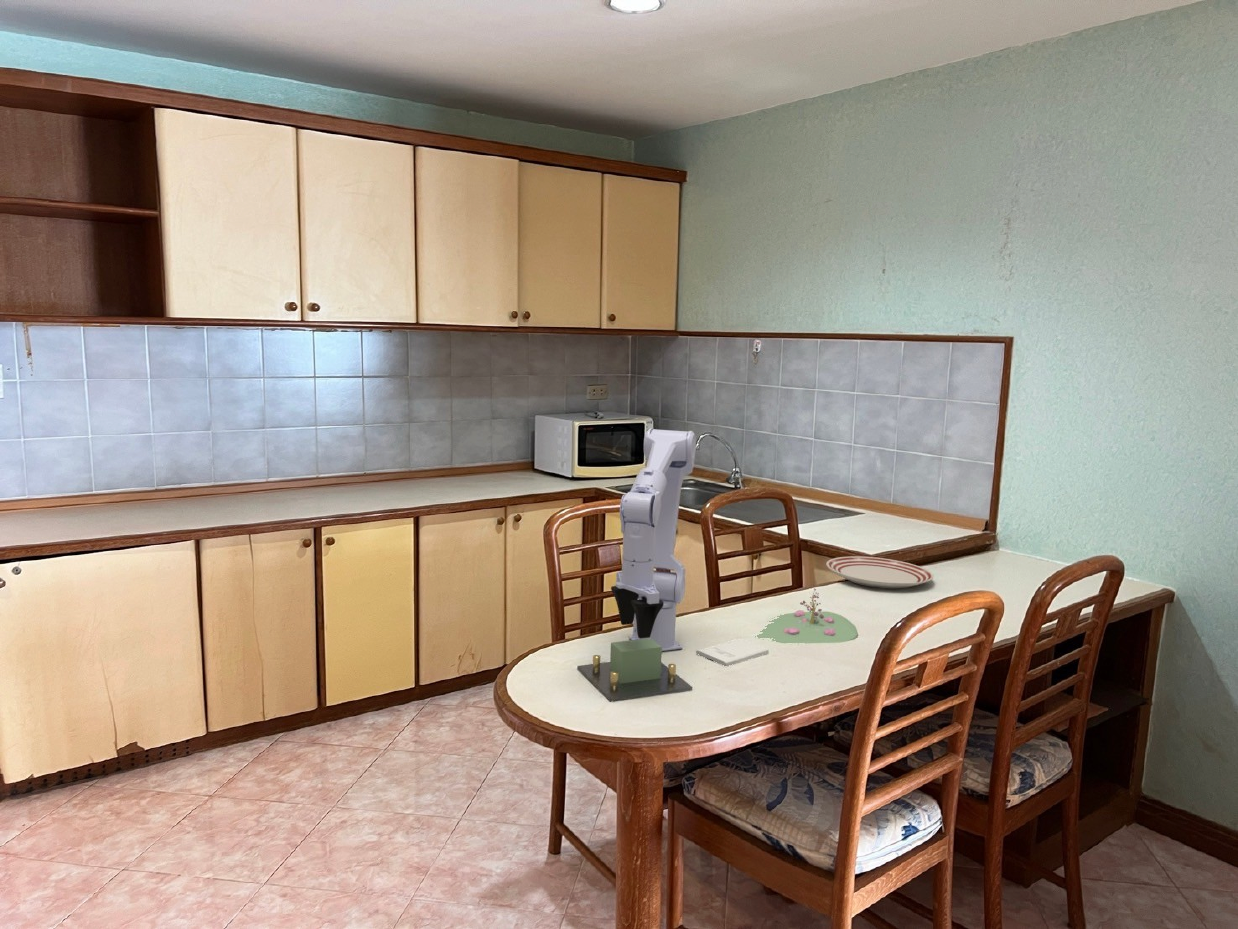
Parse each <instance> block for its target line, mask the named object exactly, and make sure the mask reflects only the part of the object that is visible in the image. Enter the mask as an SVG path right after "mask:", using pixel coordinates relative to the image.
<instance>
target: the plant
mask: <svg viewBox="0 0 1238 929" xmlns="http://www.w3.org/2000/svg"><path fill="white" fill-rule="evenodd" d="M816 590H817V589H816V588H813V593H812V596H810V597H809V598H810V599H811V601H812V602H811V601H809V604H807V602H806V601H805V600H802V601H801V602H800V603H799V604H800V605H801V606H804V607H806V610H807V611H804V610H800V609H798V610H796V611H795V612H791V613H784V615H782V614H779V615H780V616H778V615H776V616H777V617H779V618H777V619H774V620H772V621H769V620H768V621H769V622H774V623H771V624H768V625H767V626H765V627H767V628H766V629H763V630H762V631H760V632H763V633H762V634H759V635H757V637H758V638H757V639H760V638H770V639H771V638H773V639H772V641H771V642H774V641H776V643H780V644H786V643H798V644H797V645H799V643H805V644H831V643H832V644H835V643H836V644H837V643H838V644H839V643H841V644H842V643H845V642H850V641H853V640H855V639H856V638H857V637H858V636H859V633H858V630H857V627H856V625H854V623H852V622H851V621H850V620H848V618H846V617H844V616H843V615H842V614H838V613H835V612H833V611H832V612H831V611H823V609H821V608H818V610H816V609H817V606H819V605H821V602H819V603H818V602H817V600H816V599H820V597H819V594H820V593H819V592H817V591H816ZM815 591H816V592H815ZM814 593H815V594H814ZM815 598H816V599H815ZM754 638H756V636H755V637H754ZM774 639H775V640H774Z"/></svg>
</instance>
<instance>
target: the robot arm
mask: <svg viewBox="0 0 1238 929" xmlns="http://www.w3.org/2000/svg"><path fill="white" fill-rule="evenodd" d="M696 449H697V437H696V434H695V433H694V431H693V430H689V431H687V430H686V431H685V430H681V431H680V430H669V429H668V430H667V429H655V428H652V427H651V428H648V430H647V431H645V434H644V438H643V453H644V456H645V459H646V463H647V464H646V467H644V468H642V469H640V470H639V471H638V473H637V474H636V477H635V480H634V481H633V483H632V484H633V485H632V486H631V489H630V491H628V492H627V493H626V494H623V495H622V497H621V500H620V505H619V519H620V532H621V534H622V558H621V559H622V561H621V571H616V573H615V574H616V579H615V580H616V582H615V585H612V586H611V587H610V590H611V592H612V594H613V597H614V598H615V602H616V606H617V610H618V616H619V621H620V624H621V625H622V626H627V625H632V635H628V639H630V640H638V639H646V638H651V639H652V640H653V641H655V642H656V643H657V644H659V645H660V646H661V647H662V652H667V651H674V650H681V649H683V646H682V645H681V643H678V642H677V641H676V640H675V639H676V637H675V636H676V623H677V622H676V620H677V619H676V618H677V604H678V605H679V604H681V603H682V602H683V600H684V598H685V597H684V596H685V593H686V592H685V591H686V568H685V566H684V564H683V563H682V562H681V561H680V560H679V559H678V558H677V557H676V556H674V554H675V546H676V537H677V527H678V521H679V520H678V519H679V509H680V500H681V493H682V492H681V491H682V485H683V482H684V479H685V476H688V475H690V474H693V469H694V467H695V461H696V460H695V458H696V451H697V450H696ZM655 569H656V570H655ZM672 571H673V572H672Z"/></svg>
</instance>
